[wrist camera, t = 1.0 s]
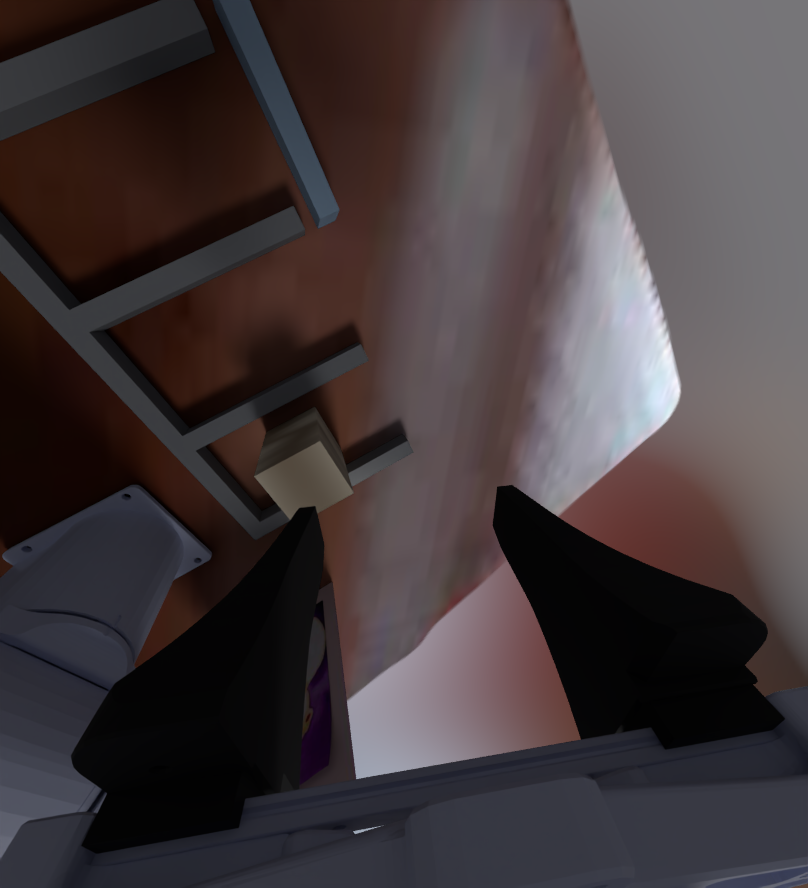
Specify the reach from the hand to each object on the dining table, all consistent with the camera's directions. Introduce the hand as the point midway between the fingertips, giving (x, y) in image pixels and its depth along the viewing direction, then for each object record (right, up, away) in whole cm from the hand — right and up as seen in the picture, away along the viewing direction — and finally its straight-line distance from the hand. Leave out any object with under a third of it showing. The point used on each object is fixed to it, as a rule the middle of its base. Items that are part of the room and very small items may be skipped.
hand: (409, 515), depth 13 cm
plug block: (-8, +3, +12) cm, 15 cm away
